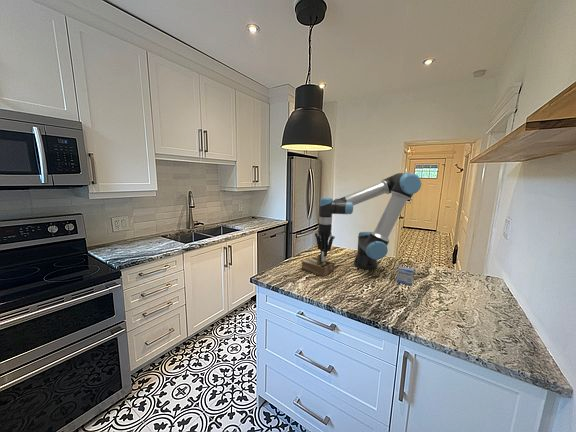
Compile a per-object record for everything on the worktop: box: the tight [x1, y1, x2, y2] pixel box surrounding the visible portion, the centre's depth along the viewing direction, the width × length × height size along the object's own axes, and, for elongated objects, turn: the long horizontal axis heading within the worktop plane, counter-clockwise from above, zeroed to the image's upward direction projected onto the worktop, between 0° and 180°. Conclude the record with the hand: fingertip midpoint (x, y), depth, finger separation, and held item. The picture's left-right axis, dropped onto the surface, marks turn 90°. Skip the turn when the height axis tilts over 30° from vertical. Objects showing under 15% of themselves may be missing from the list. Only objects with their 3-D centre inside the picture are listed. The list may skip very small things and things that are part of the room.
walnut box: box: [301, 256, 335, 278], centre depth 154 cm, size 12×16×6 cm
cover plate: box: [301, 253, 326, 267], centre depth 155 cm, size 9×13×7 cm
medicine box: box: [396, 265, 415, 286], centre depth 139 cm, size 8×4×9 cm, turn 62°
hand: (323, 261), depth 150 cm, fingers closed
